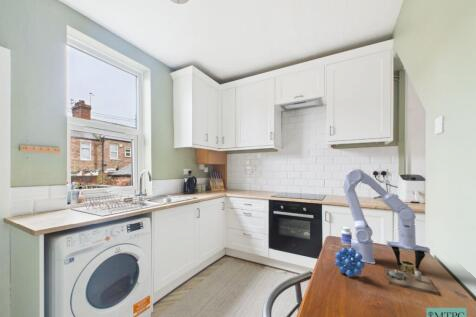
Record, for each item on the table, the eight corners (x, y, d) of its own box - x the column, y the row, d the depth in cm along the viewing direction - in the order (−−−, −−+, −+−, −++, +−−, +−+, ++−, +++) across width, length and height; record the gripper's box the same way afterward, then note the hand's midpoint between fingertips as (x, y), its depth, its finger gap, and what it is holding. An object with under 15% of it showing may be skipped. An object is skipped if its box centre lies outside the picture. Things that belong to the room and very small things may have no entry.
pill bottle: (353, 246, 115) (353, 229, 115) (343, 245, 116) (342, 228, 116) (350, 243, 120) (349, 226, 120) (340, 242, 121) (340, 226, 122)
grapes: (369, 279, 80) (368, 248, 81) (362, 285, 76) (361, 252, 77) (339, 267, 90) (339, 240, 90) (332, 272, 85) (331, 243, 86)
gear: (401, 271, 86) (401, 264, 87) (398, 265, 93) (397, 258, 93) (418, 275, 84) (418, 268, 84) (414, 268, 90) (413, 261, 90)
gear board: (388, 283, 77) (388, 271, 78) (384, 270, 88) (384, 259, 88) (438, 295, 71) (437, 282, 71) (427, 279, 81) (426, 267, 81)
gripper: (387, 234, 89) (388, 265, 88) (432, 240, 82) (433, 274, 81) (385, 230, 95) (386, 259, 94) (426, 235, 88) (427, 267, 87)
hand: (407, 266), depth 88 cm, fingers closed on gear, 6 cm apart
